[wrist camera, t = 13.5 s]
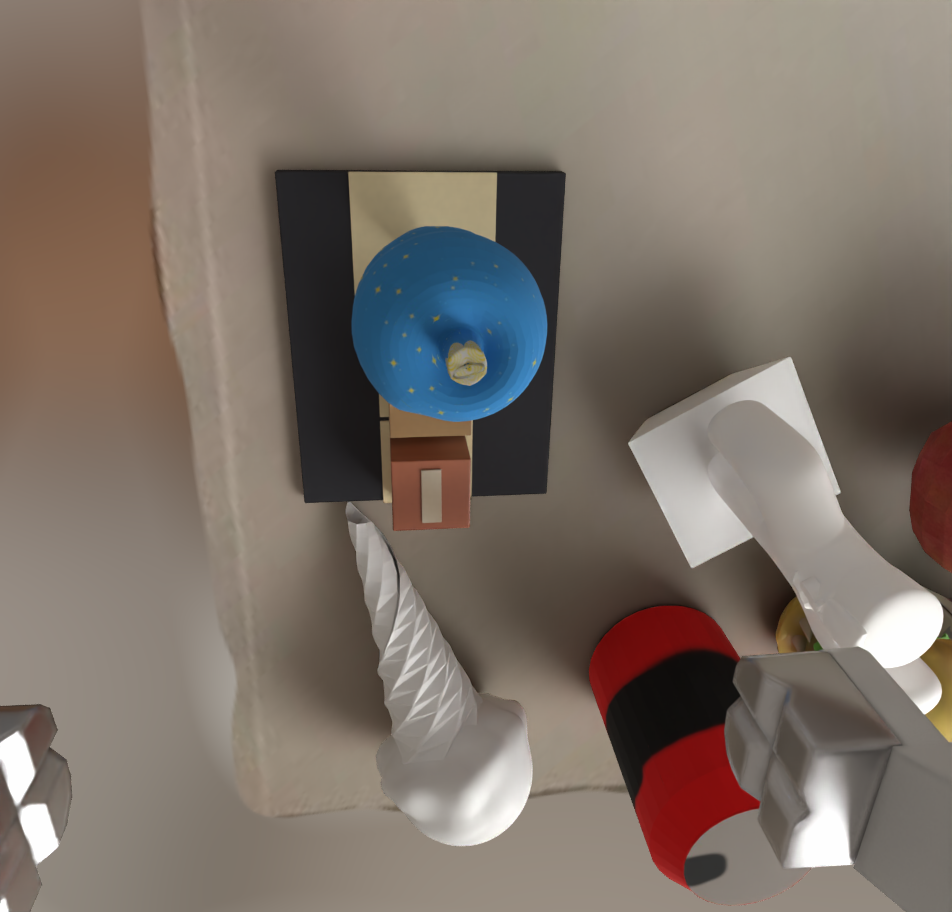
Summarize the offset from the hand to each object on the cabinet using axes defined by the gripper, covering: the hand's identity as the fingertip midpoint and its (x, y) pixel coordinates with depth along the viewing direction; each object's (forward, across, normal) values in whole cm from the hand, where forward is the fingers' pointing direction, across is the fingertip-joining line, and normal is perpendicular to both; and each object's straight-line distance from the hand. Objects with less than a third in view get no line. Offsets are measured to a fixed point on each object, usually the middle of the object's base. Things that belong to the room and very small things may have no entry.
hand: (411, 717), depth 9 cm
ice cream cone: (+25, -2, +19) cm, 31 cm away
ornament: (+24, -1, -1) cm, 24 cm away
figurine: (+25, -14, +8) cm, 30 cm away
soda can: (+25, -14, +21) cm, 35 cm away
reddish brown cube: (+24, -1, +8) cm, 25 cm away
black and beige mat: (+24, -1, +3) cm, 25 cm away
